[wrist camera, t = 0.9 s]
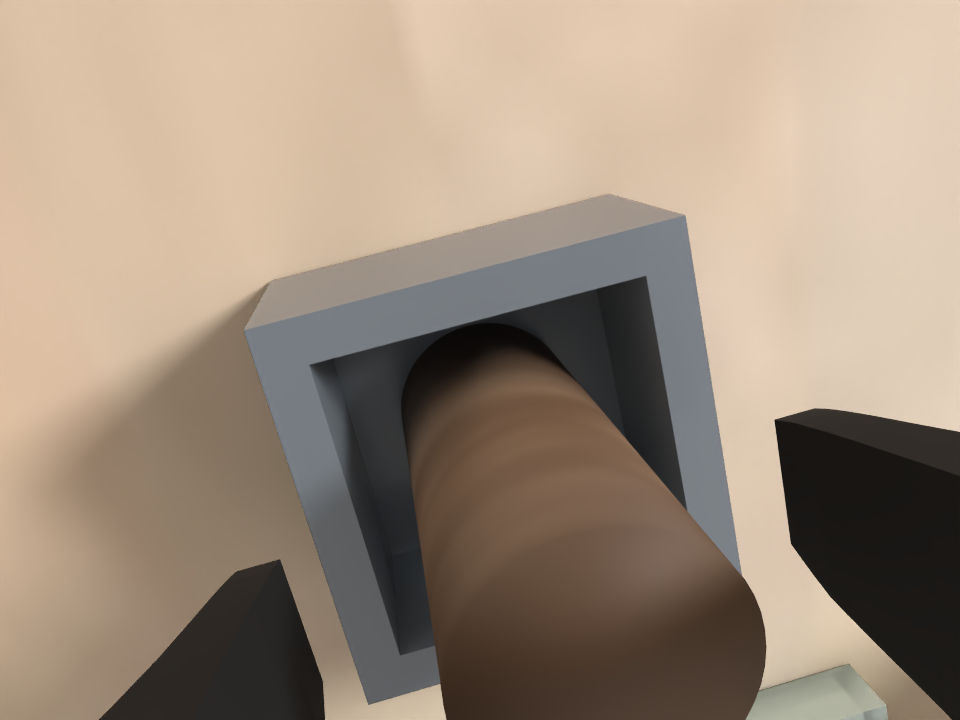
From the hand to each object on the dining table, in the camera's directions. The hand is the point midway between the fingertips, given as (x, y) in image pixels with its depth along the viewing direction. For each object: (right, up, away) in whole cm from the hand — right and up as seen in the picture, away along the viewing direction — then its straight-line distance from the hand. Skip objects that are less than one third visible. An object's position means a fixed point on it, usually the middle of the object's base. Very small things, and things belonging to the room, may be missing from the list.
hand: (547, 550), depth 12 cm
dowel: (-1, +2, +6) cm, 6 cm away
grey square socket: (-1, +2, +7) cm, 7 cm away
